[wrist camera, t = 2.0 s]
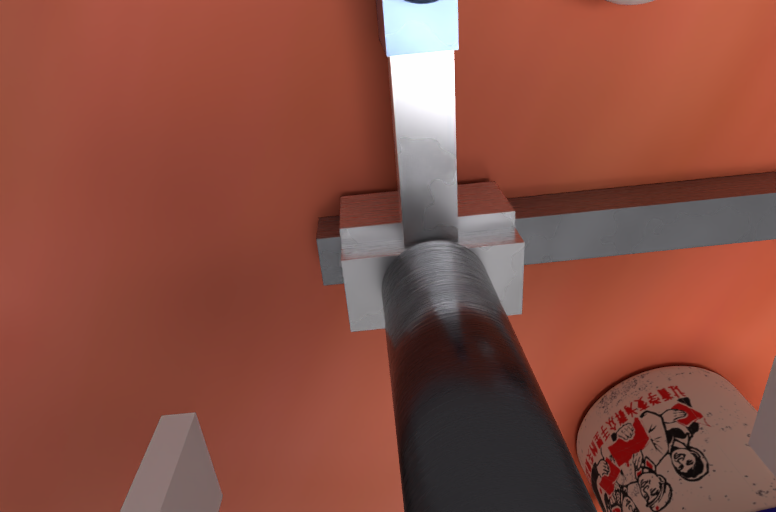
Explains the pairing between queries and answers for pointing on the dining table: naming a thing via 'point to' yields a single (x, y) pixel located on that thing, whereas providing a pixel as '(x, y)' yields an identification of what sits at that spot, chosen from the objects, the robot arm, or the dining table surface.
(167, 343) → the dining table surface
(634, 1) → the ball
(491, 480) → the kicker
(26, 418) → the dining table surface
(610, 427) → the teacup with lid
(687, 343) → the dining table surface
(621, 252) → the rail
